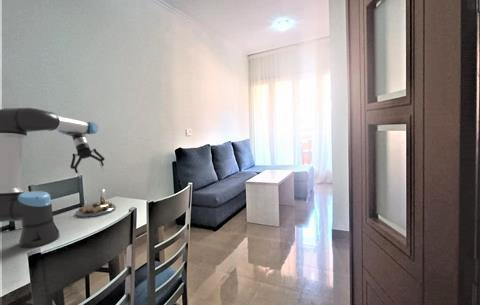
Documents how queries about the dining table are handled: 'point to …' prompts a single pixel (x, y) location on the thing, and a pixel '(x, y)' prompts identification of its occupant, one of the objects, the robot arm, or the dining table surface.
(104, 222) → the dining table surface
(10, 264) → the dining table surface
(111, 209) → the grey plate
